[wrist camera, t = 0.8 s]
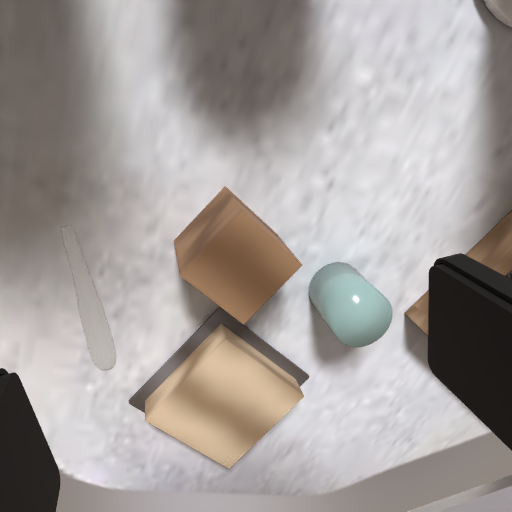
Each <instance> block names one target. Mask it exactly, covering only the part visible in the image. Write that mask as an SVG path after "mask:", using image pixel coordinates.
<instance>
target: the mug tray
mask: <svg viewBox="0 0 512 512" xmlns="http://www.w3.org/2000/svg"><path fill="white" fill-rule="evenodd" d="M466 256H468V257H470V258H472V259H474V260H476V261H478V262H480V263H482V264H483V265H485V266H487V267H489V268H491V269H493V270H495V271H497V272H499V273H500V274H502V275H504V276H505V275H506V274H507V273H508V272H509V271H511V270H512V211H511V212H510V213H509V214H508V215H507V216H505V217H504V218H503V219H502V220H501V221H500V222H499V223H498V224H497V225H496V226H495V227H494V228H493V229H492V230H491V231H490V232H489V233H488V234H487V235H486V236H485V237H484V238H482V239H481V240H480V241H479V242H478V243H477V244H476V245H475V246H474V247H473V248H472V249H471V250H470V251H469V252H468V253H467V254H466ZM428 301H429V290H428V291H427V292H426V293H425V294H424V295H423V296H422V297H421V298H420V299H419V300H418V301H417V302H416V303H415V304H414V305H412V306H411V307H410V308H409V309H408V310H407V311H406V312H405V314H406V315H407V316H408V317H409V318H410V319H411V320H412V321H413V322H414V323H415V324H416V325H417V326H418V327H419V328H420V329H421V330H422V331H423V332H424V333H425V334H426V335H427V336H428Z"/></svg>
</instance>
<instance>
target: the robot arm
mask: <svg viewBox="0 0 512 512" xmlns="http://www.w3.org/2000/svg"><path fill="white" fill-rule="evenodd" d="M484 2H485V4H486V6H487V7H488V9H489V10H490V11H491V12H492V13H493V15H494V16H495V17H496V18H497V19H498V20H500V21H501V22H502V23H504V24H505V25H506V26H509V27H511V28H512V0H484ZM428 363H429V367H430V369H431V371H432V372H433V374H434V375H435V376H436V377H437V378H438V379H439V380H440V381H441V382H442V383H443V384H444V385H445V386H446V387H447V388H448V389H449V390H450V391H451V392H452V393H453V394H455V395H456V396H457V397H458V398H459V399H460V400H461V401H462V402H463V403H464V404H465V405H466V406H467V407H468V408H469V409H470V410H471V411H472V412H473V413H474V414H475V415H476V416H477V417H478V418H479V419H480V420H481V421H482V422H483V423H484V424H485V425H486V426H487V427H488V428H489V429H490V430H491V431H492V432H493V433H494V434H495V435H496V436H497V437H498V438H500V440H501V441H502V442H503V443H504V444H505V445H507V446H508V447H509V448H510V449H511V450H512V279H510V278H508V277H506V276H504V275H502V274H500V273H499V272H497V271H495V270H493V269H491V268H489V267H487V266H485V265H483V264H482V263H480V262H478V261H476V260H474V259H472V258H470V257H468V256H466V255H465V254H461V253H460V254H455V255H451V256H447V257H443V258H439V259H437V260H436V261H435V263H434V266H432V267H431V268H430V270H429V301H428ZM59 490H60V474H59V469H58V467H57V464H56V462H55V460H54V457H53V455H52V453H51V450H50V448H49V446H48V443H47V441H46V439H45V436H44V434H43V432H42V429H41V427H40V425H39V422H38V420H37V418H36V415H35V413H34V411H33V408H32V406H31V404H30V401H29V399H28V397H27V394H26V392H25V390H24V387H23V385H22V383H21V380H20V378H19V376H18V375H17V374H16V373H10V374H8V372H7V371H6V370H5V369H3V368H1V369H0V512H56V507H57V500H58V496H59ZM407 512H512V475H510V476H507V477H504V478H501V479H498V480H496V481H492V482H489V483H487V484H484V485H481V486H478V487H475V488H472V489H469V490H467V491H464V492H461V493H458V494H455V495H452V496H449V497H446V498H444V499H441V500H438V501H435V502H432V503H429V504H427V505H424V506H421V507H418V508H415V509H413V510H410V511H407Z"/></svg>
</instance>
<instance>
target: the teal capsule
mask: <svg viewBox="0 0 512 512" xmlns="http://www.w3.org/2000/svg"><path fill="white" fill-rule="evenodd" d="M309 297H310V300H311V302H312V304H313V305H314V306H315V308H316V309H317V310H318V312H319V313H320V314H321V316H322V317H323V319H324V320H325V321H326V323H327V324H328V325H329V327H330V328H331V330H332V331H333V332H334V334H335V335H336V336H337V338H338V339H339V340H340V341H341V342H342V343H343V344H345V345H348V346H351V347H363V346H366V345H369V344H372V343H373V342H375V341H377V340H378V339H379V338H380V337H382V336H383V335H384V333H385V332H386V331H387V329H388V328H389V326H390V323H391V320H392V306H391V304H390V302H389V300H388V299H387V298H386V297H385V296H384V295H383V294H382V293H381V292H379V291H378V290H377V289H376V288H375V287H374V286H373V285H372V284H371V283H370V282H369V281H368V280H367V279H365V278H364V277H363V276H362V275H361V274H360V273H359V272H358V271H357V270H356V269H355V268H354V267H352V266H351V265H349V264H347V263H342V262H336V263H331V264H328V265H326V266H324V267H323V268H321V269H320V270H319V271H318V272H317V273H316V274H315V275H314V277H313V278H312V280H311V282H310V286H309Z"/></svg>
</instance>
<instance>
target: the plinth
mask: <svg viewBox="0 0 512 512" xmlns="http://www.w3.org/2000/svg"><path fill="white" fill-rule="evenodd" d="M308 378H309V375H308V374H307V373H305V372H304V371H303V370H302V369H300V368H299V367H298V366H296V365H295V364H294V363H292V362H291V361H290V360H289V359H287V358H286V357H285V356H283V355H282V354H281V353H279V352H278V351H277V350H275V349H274V348H273V347H272V346H270V345H269V344H268V343H266V342H265V341H264V340H262V339H261V338H260V337H259V336H257V335H256V334H255V333H253V332H252V331H251V330H249V329H248V328H247V327H245V326H244V325H243V324H242V323H240V322H239V321H238V320H236V319H235V318H234V317H232V316H231V315H230V314H229V313H227V312H226V311H225V310H223V309H222V308H221V307H219V308H218V309H217V310H216V311H215V312H214V313H213V314H212V316H211V317H210V318H209V319H208V320H207V321H206V322H205V323H204V324H203V325H202V326H201V327H200V328H199V329H198V330H197V331H196V332H195V333H194V334H193V335H192V336H191V337H190V338H189V339H188V340H187V341H186V342H185V343H184V344H183V345H182V346H181V347H180V348H179V349H178V350H177V351H176V352H175V353H174V354H173V356H172V357H171V358H170V359H169V360H168V361H167V362H166V363H165V364H164V365H163V366H162V367H161V368H160V369H159V370H158V371H157V372H156V373H155V374H154V375H153V376H152V377H151V378H150V379H149V380H148V381H147V382H146V383H145V384H144V385H143V386H142V387H141V388H140V389H139V390H138V391H137V392H136V393H135V394H134V396H133V397H132V398H131V399H130V400H129V403H130V404H131V405H133V406H135V407H136V408H138V409H140V410H142V411H143V412H145V421H146V422H148V423H150V424H152V425H153V426H155V427H157V428H159V429H160V430H162V431H164V432H166V433H167V434H169V435H171V436H173V437H174V438H176V439H178V440H180V441H181V442H183V443H185V444H187V445H189V446H190V447H192V448H194V449H196V450H197V451H199V452H201V453H203V454H204V455H206V456H208V457H210V458H211V459H213V460H215V461H217V462H218V463H220V464H222V465H224V466H225V467H227V468H230V467H231V466H232V465H233V464H235V463H236V462H237V461H238V460H239V459H240V458H241V457H242V456H243V455H244V454H245V453H246V452H247V451H248V450H249V449H250V448H251V447H252V446H253V445H254V444H255V443H256V442H257V441H258V440H259V439H261V438H262V437H263V436H264V435H265V434H266V433H267V432H268V431H269V430H270V429H271V428H272V427H273V426H274V425H275V424H276V423H277V422H278V421H279V420H280V419H281V418H282V417H283V416H284V415H285V414H287V413H288V412H289V411H290V410H291V409H292V408H293V407H294V406H295V405H296V404H297V403H298V402H299V401H300V400H301V399H302V398H303V397H304V395H303V393H302V391H301V389H300V386H301V385H302V384H303V383H304V382H305V381H306V380H307V379H308Z"/></svg>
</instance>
